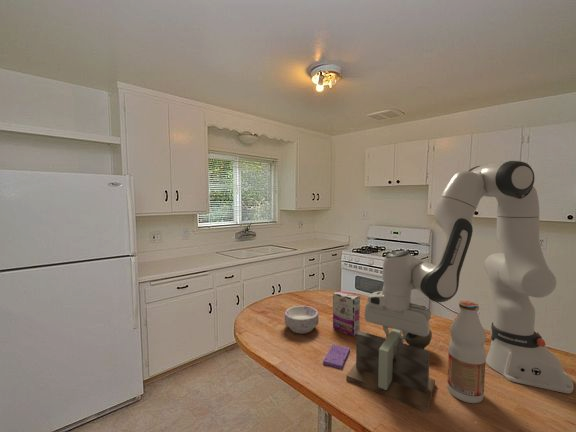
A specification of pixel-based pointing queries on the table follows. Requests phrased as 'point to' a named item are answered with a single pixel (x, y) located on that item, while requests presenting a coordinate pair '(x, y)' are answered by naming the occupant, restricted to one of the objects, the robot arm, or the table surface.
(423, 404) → the slotted stand
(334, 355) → the sponges
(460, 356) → the fruit juice
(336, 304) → the candy bar box
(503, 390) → the table surface
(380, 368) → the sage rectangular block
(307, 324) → the white patterned bowl
